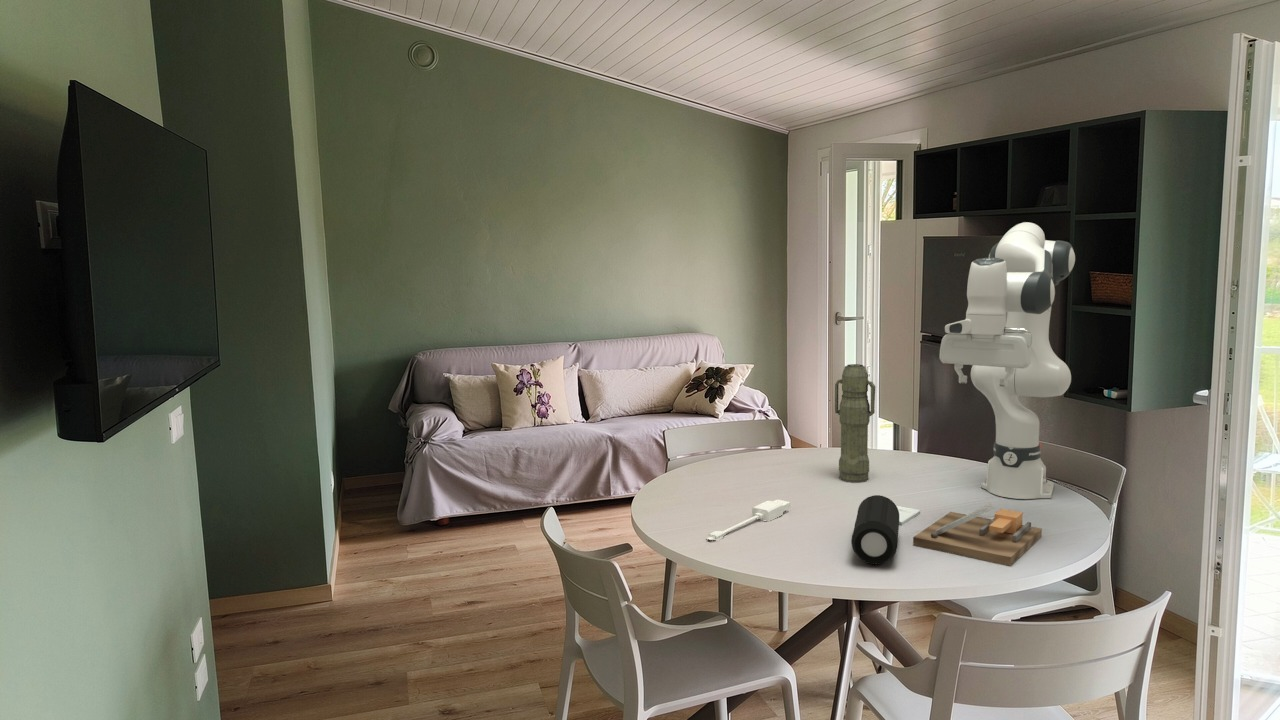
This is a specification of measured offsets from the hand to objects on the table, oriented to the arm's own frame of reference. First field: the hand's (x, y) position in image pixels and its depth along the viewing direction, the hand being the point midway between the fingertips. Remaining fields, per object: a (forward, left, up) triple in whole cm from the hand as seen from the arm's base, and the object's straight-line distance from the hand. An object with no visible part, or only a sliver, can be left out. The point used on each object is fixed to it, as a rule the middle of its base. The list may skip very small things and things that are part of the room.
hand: (982, 384), depth 199 cm
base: (+5, +1, -37) cm, 37 cm away
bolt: (+2, +6, -35) cm, 35 cm away
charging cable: (+27, -49, -38) cm, 67 cm away
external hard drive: (-1, -22, -38) cm, 44 cm away
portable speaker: (+24, -16, -37) cm, 47 cm away
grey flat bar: (+11, 0, -31) cm, 33 cm away
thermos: (-28, -47, -37) cm, 66 cm away
